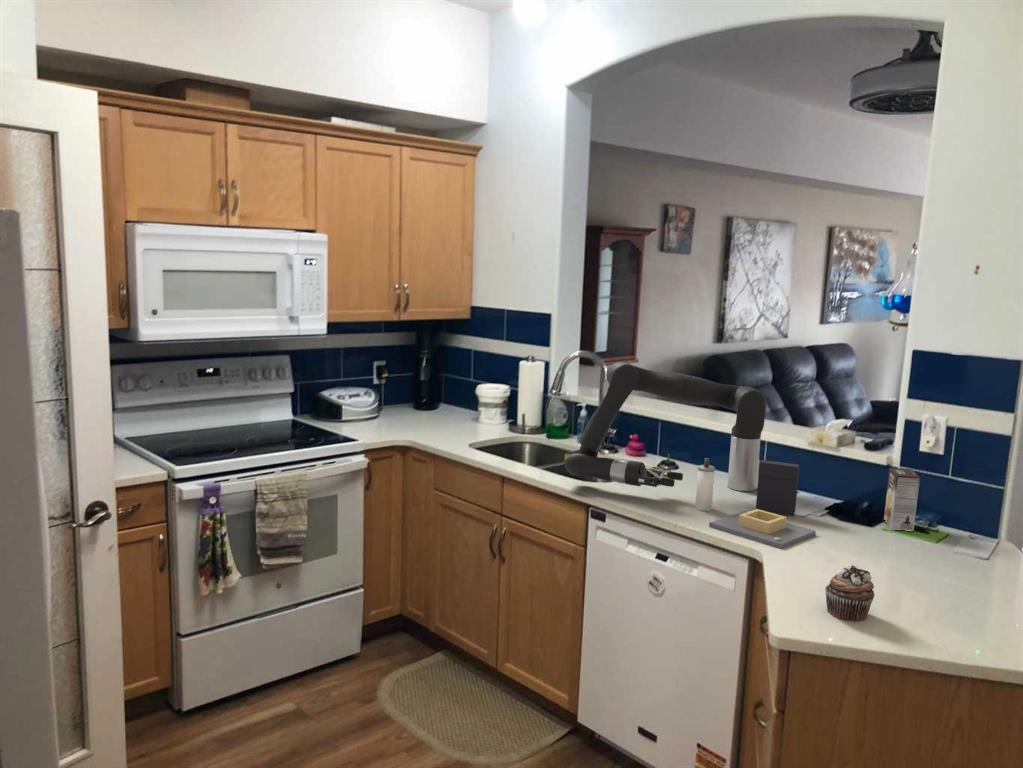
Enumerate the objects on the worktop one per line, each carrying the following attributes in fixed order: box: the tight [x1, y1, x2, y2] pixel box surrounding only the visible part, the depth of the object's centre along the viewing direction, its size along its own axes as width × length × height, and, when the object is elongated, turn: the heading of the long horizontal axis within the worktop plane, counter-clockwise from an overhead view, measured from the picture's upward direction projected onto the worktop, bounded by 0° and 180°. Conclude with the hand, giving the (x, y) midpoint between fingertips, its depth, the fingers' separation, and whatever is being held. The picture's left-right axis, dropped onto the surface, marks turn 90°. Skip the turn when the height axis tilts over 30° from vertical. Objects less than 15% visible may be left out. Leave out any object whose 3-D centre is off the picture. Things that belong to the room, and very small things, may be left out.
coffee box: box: [883, 467, 921, 531], centre depth 233 cm, size 9×6×16 cm
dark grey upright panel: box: [755, 459, 800, 517], centre depth 243 cm, size 11×4×15 cm, turn 65°
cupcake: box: [824, 565, 875, 622], centre depth 174 cm, size 10×10×10 cm
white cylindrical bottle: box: [694, 457, 716, 512], centre depth 244 cm, size 5×5×15 cm
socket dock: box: [708, 508, 817, 550], centre depth 227 cm, size 18×22×4 cm
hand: (678, 480), depth 248 cm, fingers open, 8 cm apart
